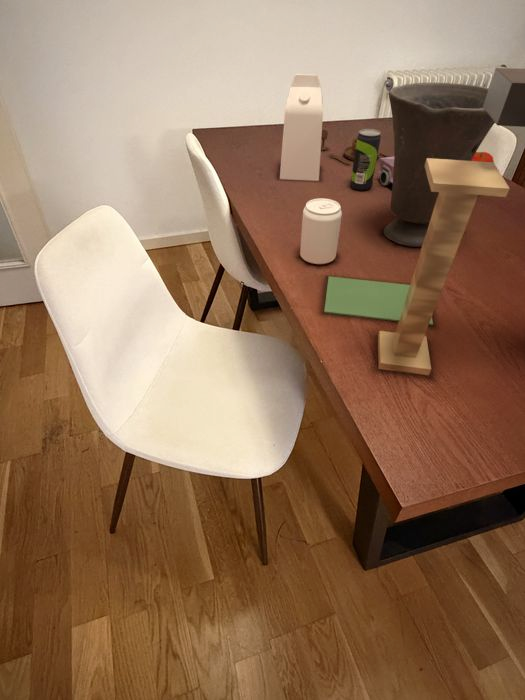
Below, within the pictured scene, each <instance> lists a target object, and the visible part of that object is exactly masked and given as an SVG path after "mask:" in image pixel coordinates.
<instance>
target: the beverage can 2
mask: <svg viewBox="0 0 525 700" xmlns="http://www.w3.org/2000/svg"><path fill="white" fill-rule="evenodd" d="M381 132H382V131H380V130H378V129H374V128H363V129H360V130H359V131H358V134H357V137H356V139H357V143H356V150H355V156H354V161H353V163H352V170H351V175H350V176H351V177H350V182H349V183H350V186H351V188H352V189H353V190H355V191H358V192H364V191H365V192H367V191H368V190H370V188H372V185H373V181H374V175H375V171H376V165H377V159H378V158H377V155H378V150H379V151H380V148H379V147H380V145H381V139H382V135H381Z"/></svg>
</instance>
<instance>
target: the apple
mask: <svg viewBox="0 0 525 700" xmlns="http://www.w3.org/2000/svg"><path fill="white" fill-rule="evenodd" d="M471 161H479V162H494V163H495V161H494V156H493V155H492V154H490V153H489V152H486V151H476V153H475V155H474V157H473V158H472V160H471Z"/></svg>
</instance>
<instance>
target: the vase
mask: <svg viewBox="0 0 525 700" xmlns="http://www.w3.org/2000/svg"><path fill="white" fill-rule="evenodd" d="M488 90H489V87H485V86H481V85H474V84H466V83H455V82H453V83H451V82H414V83H406V84H402V85H398V86H394V87H391V88H390V90H389V91H388V99H389V104H390V110H391V118H392V129H393V131H392V132H393V145H394V147H393V151H394V152H393V154H394V155H393V156H394V172H393V183H392V187H391V197H390V206H389V207H390V212H391V213H392V214H393V215H394V216H395V217H396V219H394V220H393V221H390V222H389V223H388V225H386V226H385V227H384V228H383V229H384V230H383V235H384V236H385V237H386V238H387V239H389V240H391V241H393V242H394V243H396V244H399V245H402V246H407V247H415V248H416V247H417V248H422V245H423V242H424V239H425V236H426V232H427V229H428V226H429V223H430V220H431V216H432V213H433V210H434V207H435V204H436V200H437V197H438V194H439V192H432V191H431V188H430V185H429V181H428V177H427V174H426V170H425V162H426V159H427V158H432V159H448V160H464V161H471V160H472V158H473V157H474V155H475V153H476V152H478V150H479V148H480V146H481V145H482V143H483V142H484V140H485V138H486V137H487V135H488V133H489V132H490V130H491V129H492V128H493V126H495V124H496V123H495V122H494V121H493V119H492V118H491V117H490V115H489V114H488V113H487V111H486V110H485V109H484V107H483V105H484V102H485V99H486V96H487V93H488Z"/></svg>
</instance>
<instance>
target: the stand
mask: <svg viewBox="0 0 525 700" xmlns="http://www.w3.org/2000/svg"><path fill="white" fill-rule="evenodd" d="M425 170H426V174H427V177H428V181H429V185H430V188H431V191H432V192H439V194H438V197H437V200H436V204H435V207H434V210H433V213H432V216H431V220H430V223H429V226H428V229H427V232H426V236H425V239H424V242H423V245H422V247H421V248H420V252H419V254H418V258H417V262H416V265H415V267H414V268H415V269H414V271H413V275H412V277H411V281H410V284H409V285H410V287H409V290H408V294H407V297H406V300H405V303H404V306H403V310H402V313H401V316H400V319H399V322H398V321H397V322H398V323H397V326H396V329H395V332H392V331H386V330H385V331H384V330H379V332H378V335H377V355H378V356H377V359H378V360H377V361H378V370H385V371H393V372H399V373H406V374H415V375H421V376H430V375H431V371H432V365H431V364H432V363H431V357H430V351H429V343H428V339H427V335H426V333H427V331H428V328H429V326H430V325H429V323H430V320H431V317H432V318H433V315H434V313H435V309H436V306H437V305H438V302H439V298H440V296H441V294H442V291H443V289H444V286H445V283H446V281H447V278H448V276H449V273H450V270H451V267H452V265H453V262H454V259H455V257H456V254H457V251H458V249H459V246H460V244H461V241H462V239H463V237H464V233H465V232H466V228H467V225H468V224H469V220H470V218H471V215H472V213H473V210H474V207H475V205H476V202H477V200H478V196H484V197H500V198H506V197H507V196H508V194H509V191H510V186H509V185H508V183H507V182H506V180H505V179H504V177H503V175H502V174H501V171H500V170H499V169H498V167H497V165H496V164H495V161H494V162H479V161H464V160H448V159H432V158H427V159H426V162H425Z"/></svg>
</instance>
